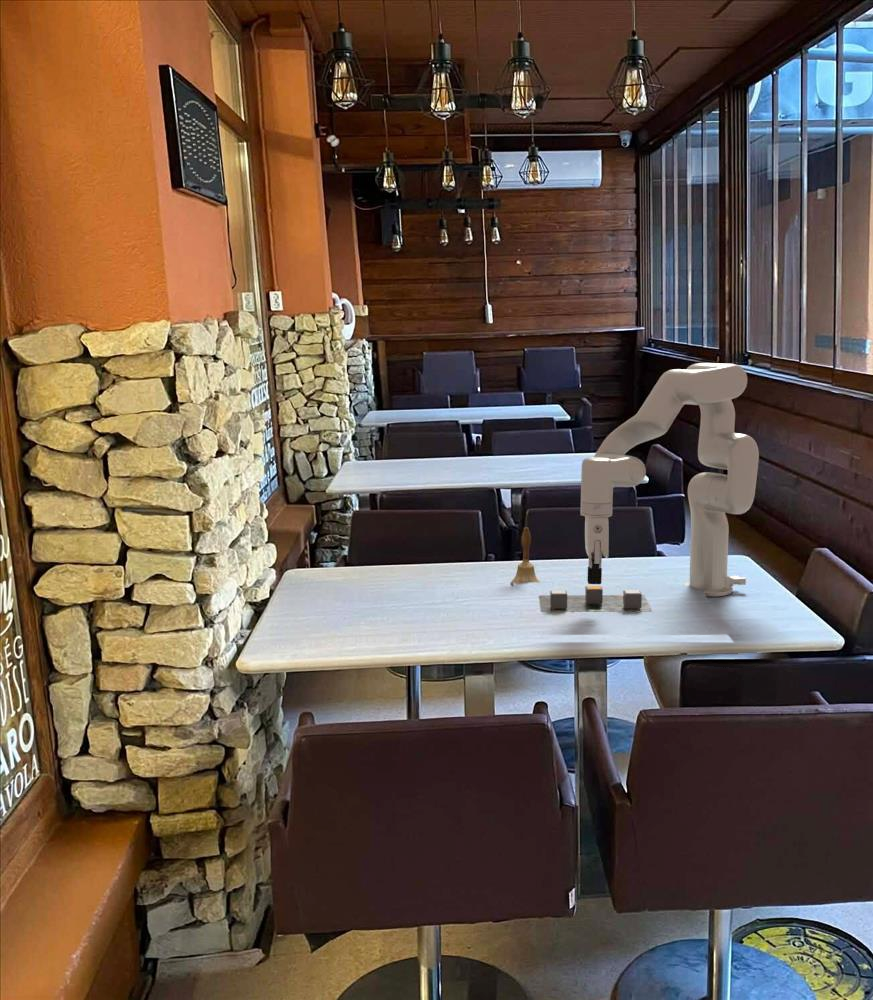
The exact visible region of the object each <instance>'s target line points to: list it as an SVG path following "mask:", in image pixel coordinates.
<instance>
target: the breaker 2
mask: <svg viewBox="0 0 873 1000" xmlns="http://www.w3.org/2000/svg"><path fill="white" fill-rule="evenodd" d="M622 595H623V605H624V607H625V608H641V605H642V595H643V594H642V592H641V590H639V589H638V590H637V589H624V590H623V594H622Z"/></svg>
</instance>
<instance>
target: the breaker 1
mask: <svg viewBox="0 0 873 1000" xmlns="http://www.w3.org/2000/svg"><path fill="white" fill-rule="evenodd" d="M549 593H550V594H549V595H550V606H551V608H567V595H568V592H567V590H549Z"/></svg>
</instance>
